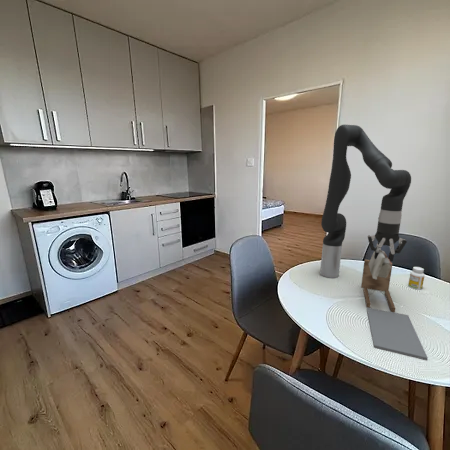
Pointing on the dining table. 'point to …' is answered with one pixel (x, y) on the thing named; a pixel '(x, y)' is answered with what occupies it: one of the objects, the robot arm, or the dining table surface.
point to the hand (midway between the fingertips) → (383, 260)
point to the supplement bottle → (416, 278)
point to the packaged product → (380, 265)
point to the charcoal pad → (394, 333)
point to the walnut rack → (376, 285)
